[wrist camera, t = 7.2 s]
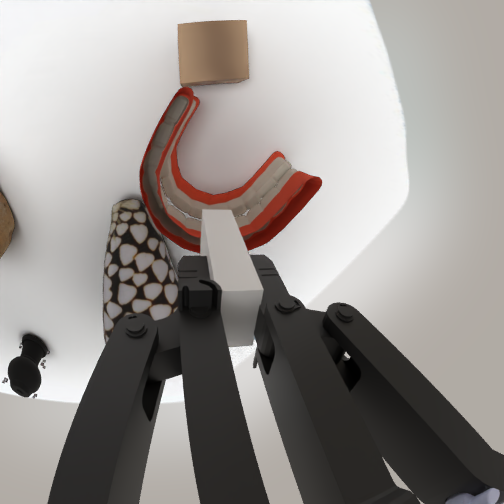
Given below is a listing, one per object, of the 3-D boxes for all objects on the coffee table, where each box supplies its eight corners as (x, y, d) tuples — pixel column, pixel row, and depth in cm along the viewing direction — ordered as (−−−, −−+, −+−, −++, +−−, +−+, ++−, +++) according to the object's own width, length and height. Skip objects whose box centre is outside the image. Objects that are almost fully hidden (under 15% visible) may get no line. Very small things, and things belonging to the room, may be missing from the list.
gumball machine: (23, 348, 31) (7, 395, 23) (14, 325, 29) (-6, 374, 20) (54, 358, 34) (42, 408, 25) (48, 336, 31) (31, 389, 23)
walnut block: (182, 87, 20) (180, 83, 16) (180, 38, 18) (177, 24, 14) (238, 82, 21) (249, 78, 17) (236, 34, 19) (246, 20, 14)
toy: (127, 183, 24) (105, 216, 17) (184, 89, 21) (180, 82, 14) (232, 238, 29) (246, 284, 23) (291, 159, 26) (326, 183, 19)
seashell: (219, 295, 33) (231, 360, 25) (141, 335, 34) (136, 397, 26) (135, 186, 24) (108, 233, 16) (55, 251, 25) (20, 309, 17)
